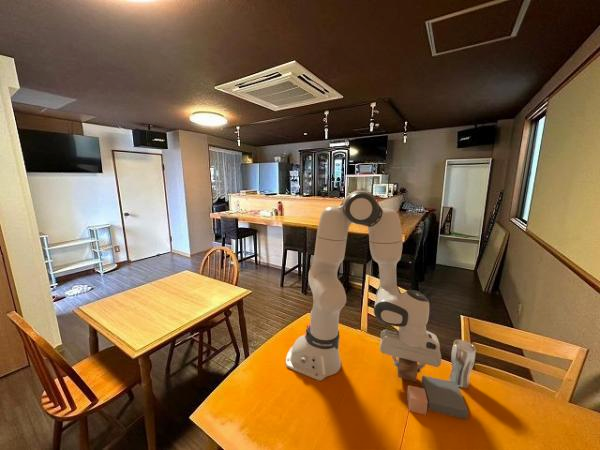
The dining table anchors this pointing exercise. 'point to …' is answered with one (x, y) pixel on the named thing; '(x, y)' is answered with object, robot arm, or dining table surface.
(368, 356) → the dining table surface
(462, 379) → the beer glass
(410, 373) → the walnut cube
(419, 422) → the dining table surface
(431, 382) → the plinth
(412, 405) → the terracotta cube
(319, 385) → the dining table surface
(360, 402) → the dining table surface
